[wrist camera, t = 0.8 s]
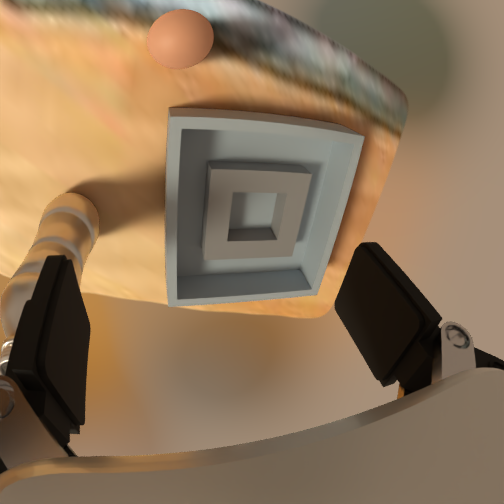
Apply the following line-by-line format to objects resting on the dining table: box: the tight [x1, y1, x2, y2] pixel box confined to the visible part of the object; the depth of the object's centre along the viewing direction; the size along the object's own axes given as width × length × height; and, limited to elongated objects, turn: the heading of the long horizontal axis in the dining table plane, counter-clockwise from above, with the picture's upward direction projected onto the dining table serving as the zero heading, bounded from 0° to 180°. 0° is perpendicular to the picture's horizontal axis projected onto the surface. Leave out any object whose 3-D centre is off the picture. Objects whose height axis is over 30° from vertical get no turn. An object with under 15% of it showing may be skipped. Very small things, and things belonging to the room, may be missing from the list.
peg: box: [147, 9, 214, 69], centre depth 19 cm, size 4×4×10 cm
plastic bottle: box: [0, 193, 99, 376], centre depth 21 cm, size 6×7×20 cm
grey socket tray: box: [165, 108, 365, 307], centre depth 32 cm, size 20×18×5 cm
